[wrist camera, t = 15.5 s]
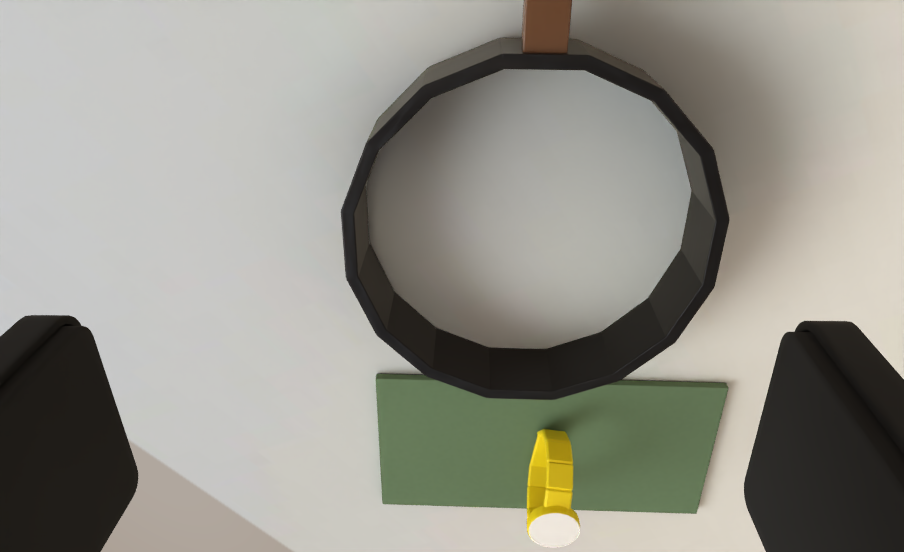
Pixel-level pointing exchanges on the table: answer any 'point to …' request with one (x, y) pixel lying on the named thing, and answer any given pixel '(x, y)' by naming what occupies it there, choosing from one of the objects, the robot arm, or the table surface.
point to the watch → (551, 491)
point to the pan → (582, 358)
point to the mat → (514, 436)
